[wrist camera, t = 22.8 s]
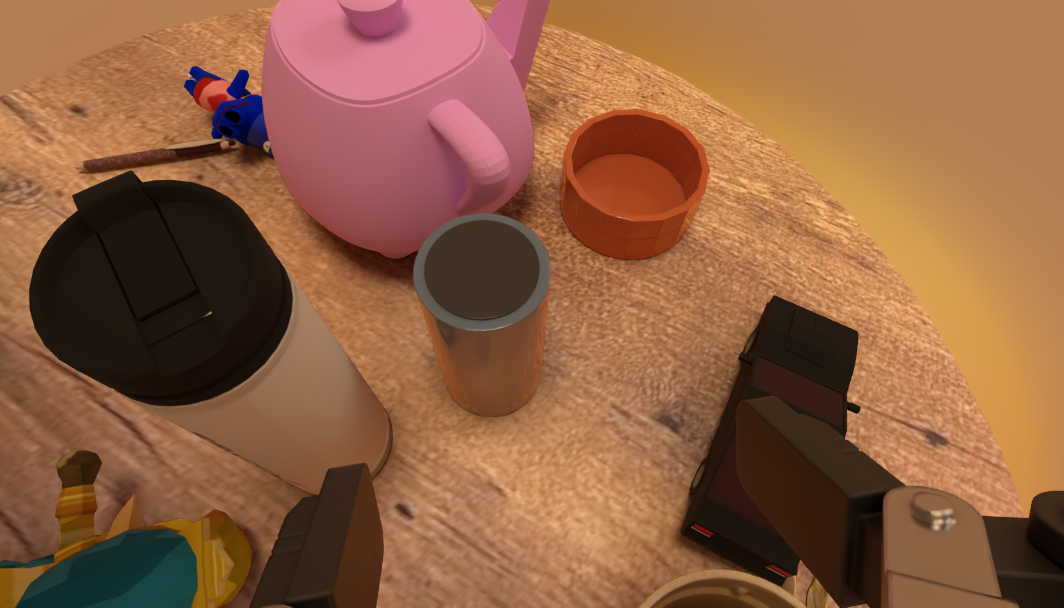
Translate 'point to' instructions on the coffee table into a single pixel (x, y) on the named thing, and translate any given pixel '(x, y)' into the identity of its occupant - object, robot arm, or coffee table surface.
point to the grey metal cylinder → (485, 309)
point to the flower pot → (720, 592)
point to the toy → (127, 556)
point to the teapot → (399, 112)
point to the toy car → (806, 387)
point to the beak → (809, 593)
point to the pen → (157, 154)
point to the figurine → (230, 107)
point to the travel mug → (203, 329)
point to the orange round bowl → (631, 183)
